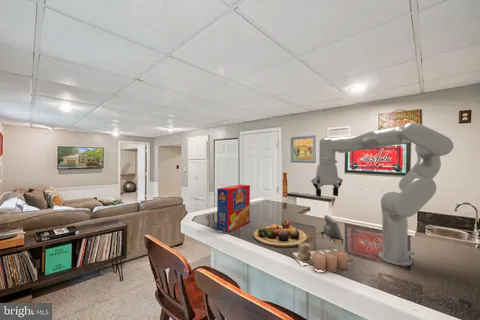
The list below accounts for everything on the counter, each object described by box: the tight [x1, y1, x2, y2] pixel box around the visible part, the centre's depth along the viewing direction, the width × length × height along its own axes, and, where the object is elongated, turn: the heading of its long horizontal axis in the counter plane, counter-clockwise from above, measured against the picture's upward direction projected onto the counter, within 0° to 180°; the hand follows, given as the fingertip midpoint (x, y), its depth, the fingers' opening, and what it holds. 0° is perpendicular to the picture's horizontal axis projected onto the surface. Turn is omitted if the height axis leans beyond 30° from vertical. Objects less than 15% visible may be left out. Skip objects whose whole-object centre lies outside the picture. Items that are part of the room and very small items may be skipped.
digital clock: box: [323, 214, 343, 240], centre depth 131 cm, size 16×9×11 cm, turn 166°
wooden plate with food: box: [252, 219, 308, 249], centre depth 126 cm, size 32×32×8 cm
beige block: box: [297, 242, 312, 260], centre depth 98 cm, size 4×4×6 cm
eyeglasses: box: [305, 231, 345, 250], centre depth 117 cm, size 14×14×4 cm
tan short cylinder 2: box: [324, 252, 338, 272], centre depth 89 cm, size 5×5×6 cm
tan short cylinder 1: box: [312, 253, 327, 271], centre depth 89 cm, size 5×5×6 cm
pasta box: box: [216, 184, 251, 234], centre depth 145 cm, size 28×8×28 cm, turn 147°
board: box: [289, 248, 354, 264], centre depth 100 cm, size 26×12×1 cm, turn 102°
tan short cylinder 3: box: [335, 249, 349, 270], centre depth 91 cm, size 5×5×6 cm
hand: (327, 196), depth 106 cm, fingers open, 9 cm apart
